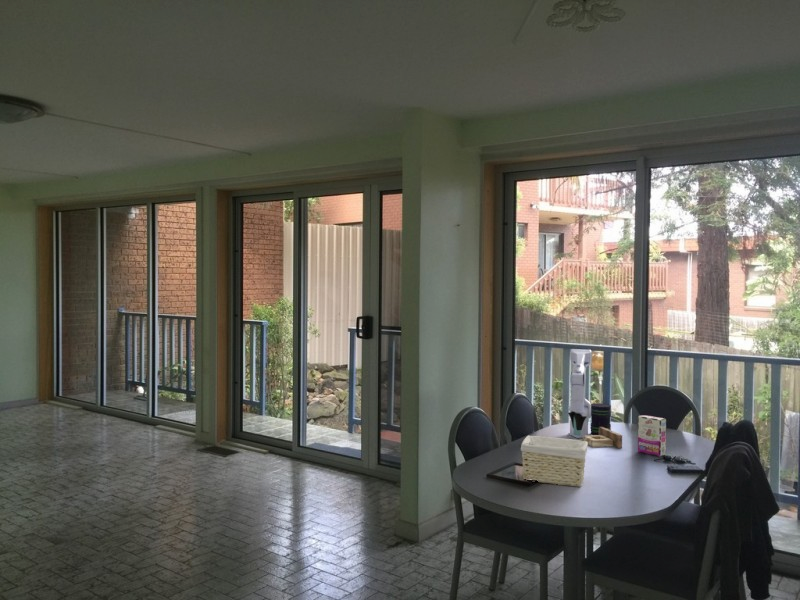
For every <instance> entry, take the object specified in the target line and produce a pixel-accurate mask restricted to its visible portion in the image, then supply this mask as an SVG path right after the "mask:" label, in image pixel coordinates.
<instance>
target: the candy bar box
mask: <svg viewBox="0 0 800 600" xmlns="http://www.w3.org/2000/svg"><path fill="white" fill-rule="evenodd" d="M666 450H667V418H665V417H664V418H663V417H660V416H659V417H658V416H652V415H647V414H646V415H645V414H644V415H642V414H641V415H638V417H637V452H638V453H642V454H646V455H651V456H656V457H659V458H660V457H665V456H666V454H667V451H666ZM664 455H665V456H664Z"/></svg>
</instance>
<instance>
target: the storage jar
mask: <svg viewBox="0 0 800 600" xmlns="http://www.w3.org/2000/svg"><path fill="white" fill-rule="evenodd" d="M611 415H612V405H611V404H607V403H599V402H598V403H597V402H596V403H595V402H594V403H591V417H590V418H591V420H590V428H589V429H590V435H591V434H592V435H599V427H604V428H606V429H609V430H611V431H612V426H611V417H612V416H611Z"/></svg>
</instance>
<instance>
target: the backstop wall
mask: <svg viewBox="0 0 800 600" xmlns="http://www.w3.org/2000/svg"><path fill="white" fill-rule="evenodd" d="M599 435H603V436H606V437H608V438H610V439H612V440H613V446H612V447H614V446H615V447H614V448H616V447H617V448H616V449H622V448H623V435H622V434H620V433H618V432H616V431H613V430H612V429H611V430H609V429H606V428H604V427H599Z"/></svg>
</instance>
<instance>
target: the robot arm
mask: <svg viewBox="0 0 800 600" xmlns="http://www.w3.org/2000/svg"><path fill="white" fill-rule="evenodd" d="M569 356H570V357H569V359H570V362H571V365H573V366H572V369H571V370H572V373H571V374H570V377H569V381H570V382H569V384H570V405H568V407H567V409H568V411H569V412H568V416H569V418H570V421H569V432H568V433H567V434H568V435H570V436H572V437H573V438H576V439H581V438H582V439H583V436H589V435H590V434H589V419H590V418H591V404H592V403H591V402H590V401H589V400H588V399H586V380H587V379H586V376H587V375H586V374H587V373H586V372H587V367H589V366H591V365H592V350H591V349H590V348H589V349H577V348H572V349H570V355H569ZM574 418H575V421H576V429H577V430H581V435H574Z"/></svg>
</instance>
